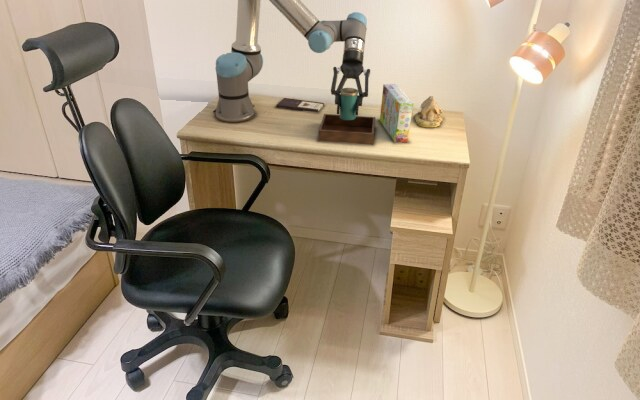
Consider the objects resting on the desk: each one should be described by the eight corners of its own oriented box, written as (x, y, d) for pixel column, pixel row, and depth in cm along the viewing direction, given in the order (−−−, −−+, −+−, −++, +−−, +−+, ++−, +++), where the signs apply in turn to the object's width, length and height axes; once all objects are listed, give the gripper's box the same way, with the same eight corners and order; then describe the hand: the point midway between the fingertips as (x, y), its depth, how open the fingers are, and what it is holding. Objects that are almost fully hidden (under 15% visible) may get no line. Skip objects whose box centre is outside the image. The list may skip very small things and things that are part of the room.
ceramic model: (414, 113, 197) (417, 89, 191) (442, 115, 195) (445, 91, 190) (414, 127, 185) (418, 102, 179) (444, 129, 183) (448, 104, 178)
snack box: (409, 142, 173) (414, 102, 165) (394, 143, 172) (398, 103, 164) (392, 119, 191) (396, 82, 183) (378, 120, 190) (381, 83, 182)
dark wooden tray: (318, 141, 173) (318, 130, 170) (323, 124, 186) (324, 113, 183) (372, 145, 171) (373, 134, 168) (374, 127, 184) (375, 117, 181)
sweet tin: (338, 119, 172) (339, 93, 167) (340, 113, 178) (341, 87, 172) (355, 121, 172) (357, 94, 166) (356, 114, 177) (358, 88, 172)
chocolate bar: (284, 97, 207) (323, 102, 202) (284, 99, 207) (323, 105, 203) (276, 104, 199) (317, 110, 195) (276, 107, 200) (317, 112, 195)
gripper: (327, 47, 172) (320, 107, 167) (379, 50, 170) (374, 110, 165) (328, 57, 179) (321, 115, 175) (379, 61, 178) (373, 119, 173)
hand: (347, 113), depth 170 cm, fingers closed on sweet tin, 6 cm apart
